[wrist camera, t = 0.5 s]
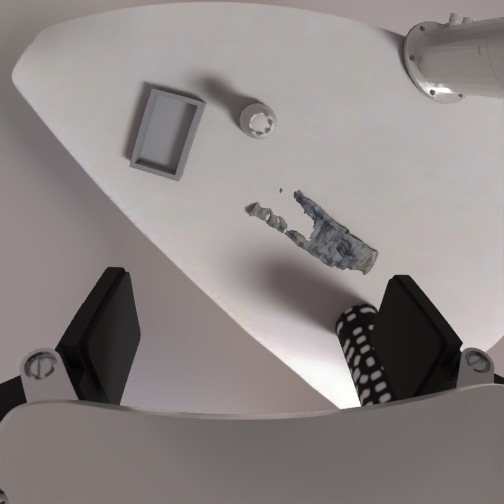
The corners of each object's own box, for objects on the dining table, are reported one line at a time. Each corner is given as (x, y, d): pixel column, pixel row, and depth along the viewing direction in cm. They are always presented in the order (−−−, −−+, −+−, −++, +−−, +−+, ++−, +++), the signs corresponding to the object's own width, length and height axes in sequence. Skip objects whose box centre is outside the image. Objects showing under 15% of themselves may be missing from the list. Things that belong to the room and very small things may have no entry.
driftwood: (381, 253, 45) (386, 260, 43) (352, 284, 47) (356, 291, 45) (279, 171, 39) (280, 174, 37) (248, 210, 41) (248, 215, 39)
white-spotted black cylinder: (385, 323, 51) (429, 409, 33) (347, 346, 53) (378, 437, 35) (368, 295, 48) (417, 388, 30) (327, 322, 50) (358, 420, 32)
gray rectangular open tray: (156, 89, 32) (152, 88, 31) (206, 102, 34) (204, 102, 32) (134, 163, 37) (129, 166, 35) (181, 177, 38) (178, 181, 36)
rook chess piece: (278, 106, 34) (287, 106, 27) (272, 140, 36) (279, 149, 29) (242, 100, 34) (241, 99, 27) (236, 135, 36) (234, 142, 29)
